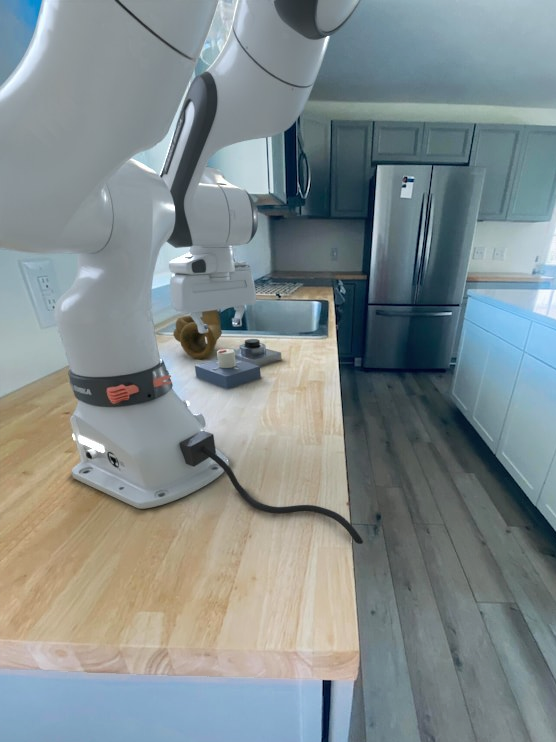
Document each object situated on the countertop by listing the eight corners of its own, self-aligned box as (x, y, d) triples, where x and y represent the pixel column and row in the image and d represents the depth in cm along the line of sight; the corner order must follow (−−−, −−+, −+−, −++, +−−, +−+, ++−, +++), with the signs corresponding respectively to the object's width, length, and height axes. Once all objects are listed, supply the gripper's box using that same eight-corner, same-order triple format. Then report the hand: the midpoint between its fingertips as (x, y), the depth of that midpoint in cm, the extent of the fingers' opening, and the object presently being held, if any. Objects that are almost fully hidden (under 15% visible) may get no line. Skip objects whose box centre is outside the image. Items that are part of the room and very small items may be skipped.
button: (263, 346, 101) (262, 340, 100) (251, 349, 98) (251, 343, 97) (253, 344, 103) (252, 338, 102) (242, 347, 100) (241, 340, 99)
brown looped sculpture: (246, 318, 117) (219, 319, 96) (236, 356, 121) (208, 365, 101) (193, 297, 117) (154, 293, 96) (184, 336, 121) (145, 340, 101)
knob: (228, 362, 90) (227, 346, 88) (239, 365, 87) (237, 349, 86) (215, 365, 87) (213, 350, 85) (226, 369, 85) (224, 353, 83)
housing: (281, 360, 102) (281, 346, 100) (254, 368, 95) (253, 353, 93) (253, 352, 109) (252, 338, 107) (225, 359, 102) (224, 345, 100)
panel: (260, 378, 89) (260, 365, 87) (227, 389, 82) (225, 375, 80) (229, 368, 95) (228, 356, 94) (196, 377, 88) (194, 364, 87)
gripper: (241, 260, 86) (246, 321, 92) (160, 263, 71) (173, 334, 78) (259, 261, 82) (263, 324, 89) (179, 264, 68) (190, 339, 75)
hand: (221, 329), depth 83 cm, fingers open, 8 cm apart
